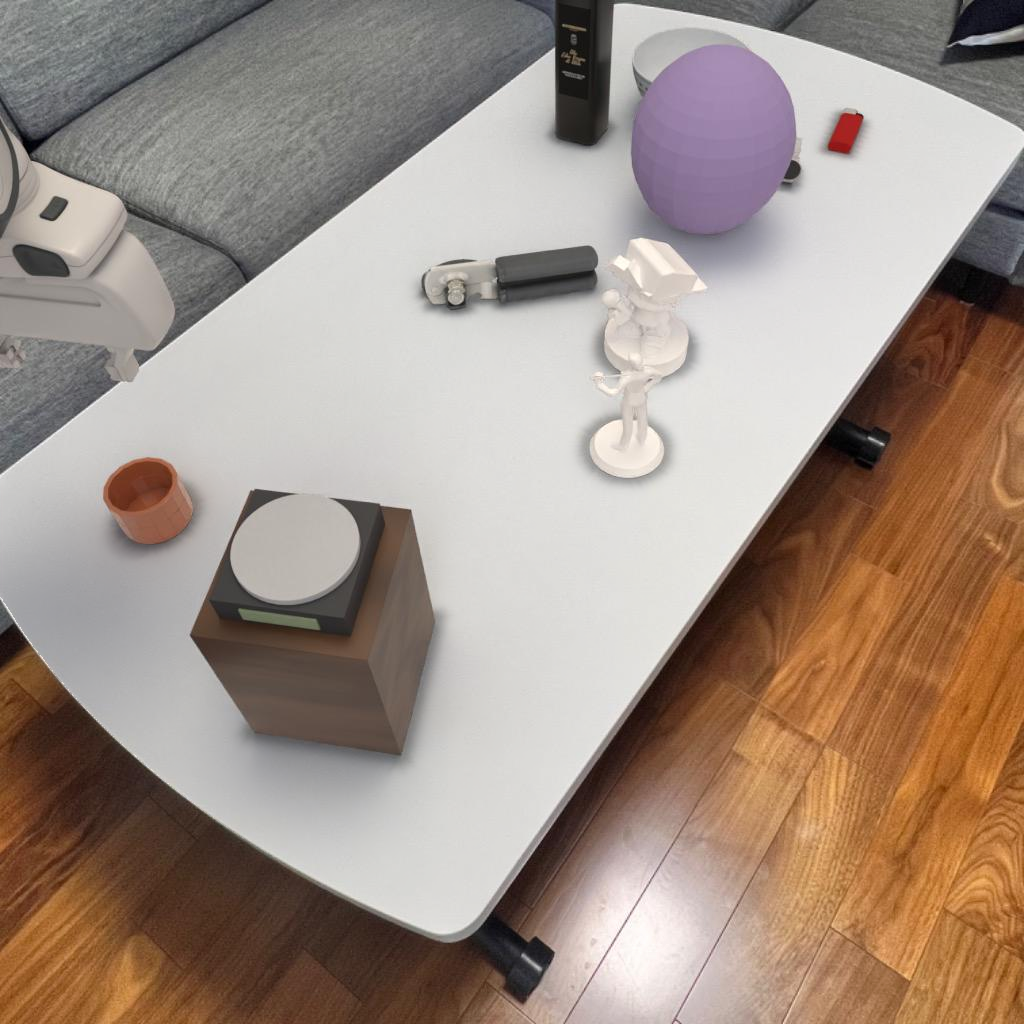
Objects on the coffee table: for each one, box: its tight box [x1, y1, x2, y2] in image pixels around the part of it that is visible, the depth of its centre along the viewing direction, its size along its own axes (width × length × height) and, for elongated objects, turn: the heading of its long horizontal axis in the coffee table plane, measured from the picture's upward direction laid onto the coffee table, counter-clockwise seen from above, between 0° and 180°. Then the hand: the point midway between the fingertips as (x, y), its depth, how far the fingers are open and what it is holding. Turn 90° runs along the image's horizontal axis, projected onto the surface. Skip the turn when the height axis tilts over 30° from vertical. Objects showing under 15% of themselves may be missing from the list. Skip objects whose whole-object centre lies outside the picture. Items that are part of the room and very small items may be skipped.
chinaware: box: [631, 26, 753, 98], centre depth 118 cm, size 15×15×8 cm
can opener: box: [420, 244, 599, 310], centre depth 101 cm, size 19×6×5 cm, turn 96°
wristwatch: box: [782, 137, 804, 184], centre depth 111 cm, size 3×5×5 cm, turn 164°
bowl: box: [102, 456, 194, 545], centre depth 85 cm, size 6×6×4 cm
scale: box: [209, 488, 385, 636], centre depth 62 cm, size 9×9×3 cm
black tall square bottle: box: [554, 0, 615, 146], centre depth 108 cm, size 6×6×30 cm
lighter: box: [827, 107, 864, 154], centre depth 117 cm, size 3×1×8 cm
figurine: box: [588, 352, 665, 479], centre depth 84 cm, size 7×7×12 cm
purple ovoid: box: [630, 44, 798, 235], centre depth 100 cm, size 17×17×20 cm
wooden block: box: [189, 489, 436, 756], centre depth 70 cm, size 12×12×16 cm
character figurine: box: [600, 237, 708, 380], centre depth 92 cm, size 9×10×12 cm
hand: (69, 368), depth 71 cm, fingers open, 8 cm apart
